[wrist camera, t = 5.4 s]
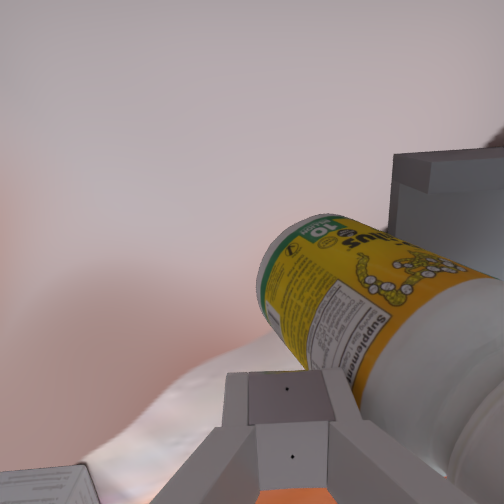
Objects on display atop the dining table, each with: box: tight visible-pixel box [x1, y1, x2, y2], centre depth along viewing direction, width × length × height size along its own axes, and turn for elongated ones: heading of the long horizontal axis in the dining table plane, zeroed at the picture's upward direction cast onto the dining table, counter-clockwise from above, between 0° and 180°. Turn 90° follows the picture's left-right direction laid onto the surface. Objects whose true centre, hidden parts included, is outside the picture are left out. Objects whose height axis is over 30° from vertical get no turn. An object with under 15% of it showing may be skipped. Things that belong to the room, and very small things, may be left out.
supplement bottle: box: [256, 214, 504, 504], centre depth 10 cm, size 5×5×10 cm
